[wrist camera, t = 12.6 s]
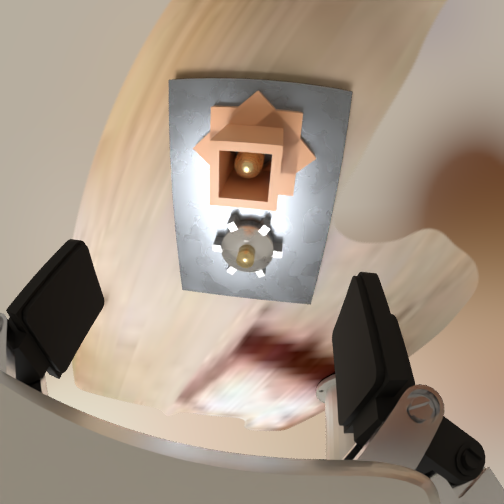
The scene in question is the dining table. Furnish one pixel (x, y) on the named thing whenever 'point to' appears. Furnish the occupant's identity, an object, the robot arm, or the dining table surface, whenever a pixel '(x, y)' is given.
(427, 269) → the dining table surface
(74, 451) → the robot arm
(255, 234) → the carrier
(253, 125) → the hollow square star tube
